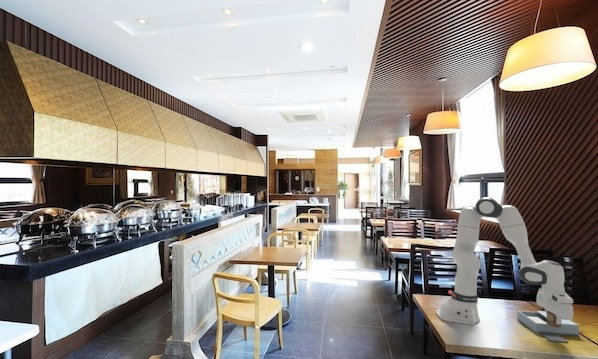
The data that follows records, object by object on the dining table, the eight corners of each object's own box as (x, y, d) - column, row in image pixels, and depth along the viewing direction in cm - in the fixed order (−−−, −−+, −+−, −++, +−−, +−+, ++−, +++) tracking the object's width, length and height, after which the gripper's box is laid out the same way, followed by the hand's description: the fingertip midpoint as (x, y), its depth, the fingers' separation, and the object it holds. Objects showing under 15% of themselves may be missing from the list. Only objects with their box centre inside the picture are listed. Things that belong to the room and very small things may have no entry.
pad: (550, 341, 146) (550, 340, 146) (539, 333, 154) (539, 332, 154) (568, 342, 145) (568, 341, 145) (555, 334, 153) (555, 333, 153)
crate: (536, 333, 154) (536, 322, 154) (517, 319, 170) (517, 309, 170) (578, 335, 152) (578, 324, 152) (555, 322, 168) (555, 312, 168)
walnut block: (552, 327, 147) (552, 315, 148) (546, 323, 151) (546, 311, 152) (561, 327, 147) (561, 315, 147) (555, 324, 151) (555, 312, 151)
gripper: (532, 286, 160) (533, 312, 160) (561, 300, 140) (562, 330, 140) (545, 287, 160) (545, 313, 159) (576, 301, 139) (576, 331, 139)
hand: (553, 321), depth 149 cm, fingers closed on walnut block, 4 cm apart
